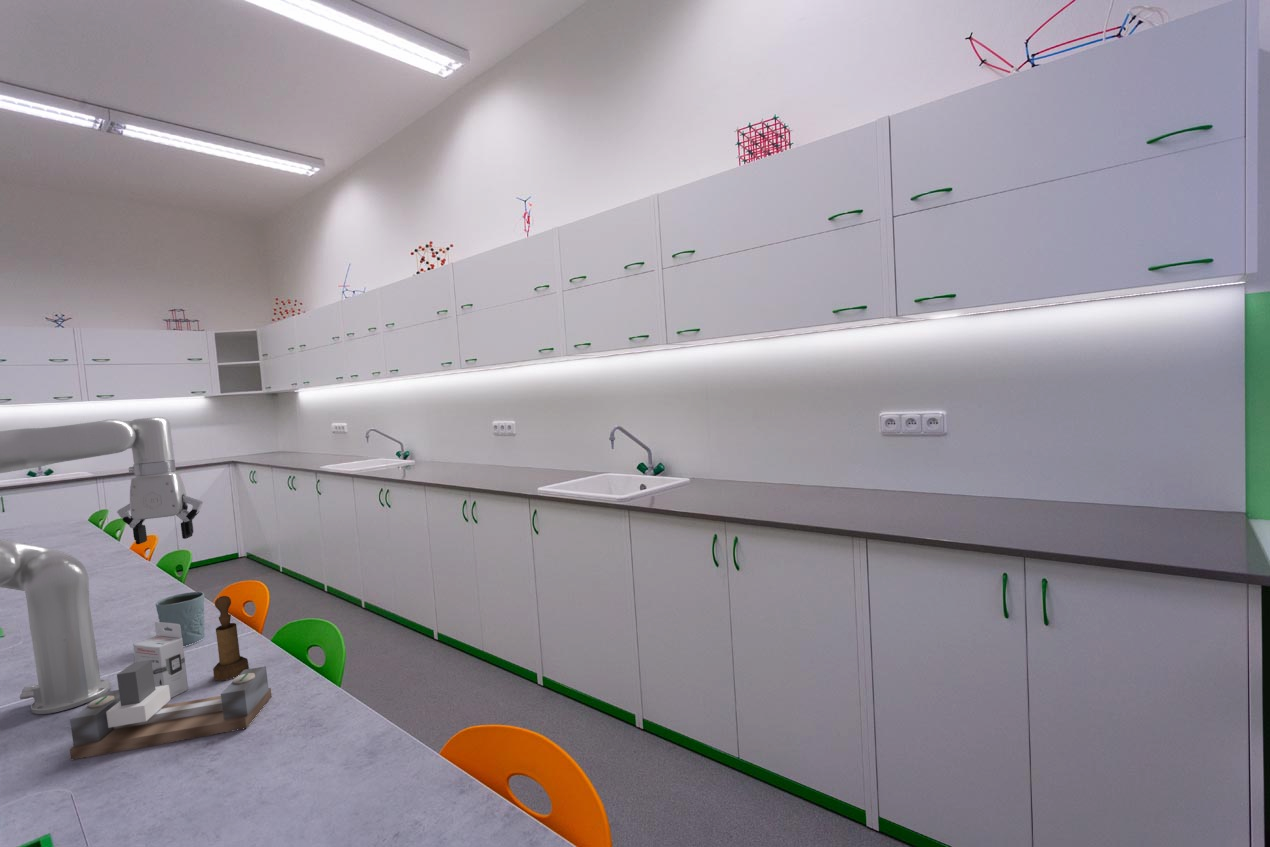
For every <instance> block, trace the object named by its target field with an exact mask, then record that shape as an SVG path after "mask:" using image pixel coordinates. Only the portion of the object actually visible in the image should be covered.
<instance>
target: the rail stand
mask: <svg viewBox="0 0 1270 847" xmlns="http://www.w3.org/2000/svg"><path fill="white" fill-rule="evenodd" d="M272 697H273V695H272V688H271V687H269V682H268V673H267V667H266V666H260V667H253V668H249V669H246V670H243V671H242V672H241V674H240V675H239V676H238V677H235V678H233V680H232V681H231V683H230V684H229V685H228V686H227V687H226V688H225V689H224V690H223V691H222V692H221V693H220V695H219V696H212V697H207V698H200V699H194V700H188V701H182V702H176V703H171V704H165V705H164V706H163V707H162V708H161V709H159V710H158V711H157V712H156V713H155V714H154V715H153V716H152V717H150V718H149V719H148V720H147V721H145V722H139V723H133V724H127V725H122V726H116V727H110V728H108V721H107V714H106V712H107V711H108V710H109V709H110V708H112V707H113V706H114V705H116V704H117V703H118V702H119V701H120V694H119V689H115V690H110V691H107V692H106V693H105V694H103V695H102V696H100V697H98V698H96V699H94V700H92V701H90V702H88V703H87V704H88V705H87V706H86V707H84V708H83V709H81V710H80V711H79V712H77V713H76V714H74V715H73V716H72V717H71V718H70V719H69V723H70V729H71V736H72V744H73V745H72V746H71V748H69V755H70V760H71V759H75V760H77V759H76V758H81V759H84V758H83V757H86V758H89V757H88V756H92V757H96V756H95V755H97V756H102V754H103V755H107V754H108V753H109V754H113V753H119V752H124V751H131V750H135V749H140V748H141V749H142V748H147V747H152V746H158V745H163V744H164V743H165V744H169V743H175V742H174V741H176V742H180V741H179V740H181V741H185V740H184V739H187V740H191V739H190V738H193V739H197V738H203V736H204V737H208V735H209V736H214V735H213V734H215V735H218V734H217V733H221V734H223V733H222V732H226V733H228V732H227V731H232V730H237V729H243V728H247V727H248V728H249V726H250V725H251V724H252V723H253V721H254V720H255V719H256V718H257V716H258V715H259V714H260V713H261V711H262V710H263V709H264V707H265V706H266V705H267V704H268V703H269V701H270V700H271V699H272ZM270 698H271V699H270ZM269 699H270V700H269ZM268 700H269V701H268ZM266 703H267V704H266ZM265 704H266V705H265ZM264 705H265V706H264ZM263 706H264V707H263ZM262 708H263V709H262ZM261 709H262V710H261ZM260 710H261V711H260ZM259 712H260V713H259ZM258 713H259V714H258ZM257 714H258V715H257ZM256 715H257V716H256ZM255 717H256V718H255ZM254 718H255V719H254ZM253 719H254V720H253ZM252 720H253V721H252ZM251 722H252V723H251ZM250 723H251V724H250ZM249 724H250V725H249ZM248 725H249V726H248ZM248 728H247V729H248ZM243 730H244V729H243ZM237 731H238V730H237ZM232 732H233V731H232Z"/></svg>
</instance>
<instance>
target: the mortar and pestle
mask: <svg viewBox="0 0 1270 847" xmlns="http://www.w3.org/2000/svg"><path fill="white" fill-rule="evenodd" d="M231 604H232V599H231V597H229V596H228V595H222V596H219V597H217V598H216V600H215V602H214V607H215V609H217V610H218V612H219V617H218V621H219V623H220V625H218V626H217V627H216V628H215V635H216V642H217V650H218V658H219V659H218V661H219V662H218V663H217V664H216V665H215V666H213V669H212V671H213V679H214V680H215V681H219V682H221V681H220V680H223V681H227V680H226V679H229V680H231V679H230V678H232V679H234V678H233V677H235V678H236V676H238V675H240V674H241V672H242V671H243V670H246V669H250V667H249V660H248V658H247V657H244V656H242V655H241V651H240V644H239V635H238V627H237V626H238V625H237V623H234V622H231V619H232V618H231V617H232V615H231V614H229V609H230V607H231Z"/></svg>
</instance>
